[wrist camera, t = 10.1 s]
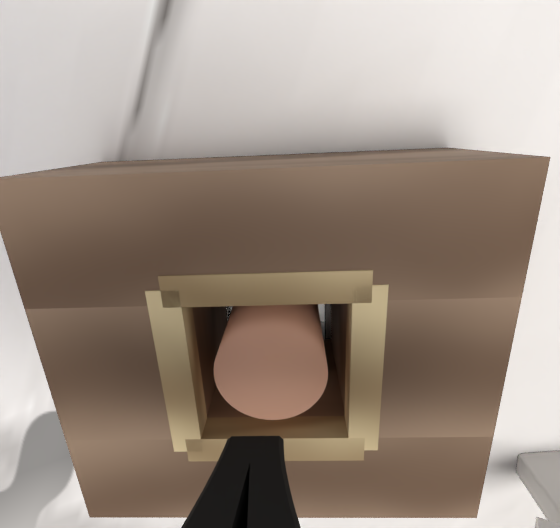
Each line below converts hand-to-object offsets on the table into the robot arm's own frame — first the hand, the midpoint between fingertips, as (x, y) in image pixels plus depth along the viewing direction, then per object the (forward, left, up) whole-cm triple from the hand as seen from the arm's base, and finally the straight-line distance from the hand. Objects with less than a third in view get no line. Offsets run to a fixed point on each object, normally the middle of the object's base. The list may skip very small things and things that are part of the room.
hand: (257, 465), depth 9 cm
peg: (0, 0, -10) cm, 10 cm away
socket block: (0, 0, -10) cm, 10 cm away
